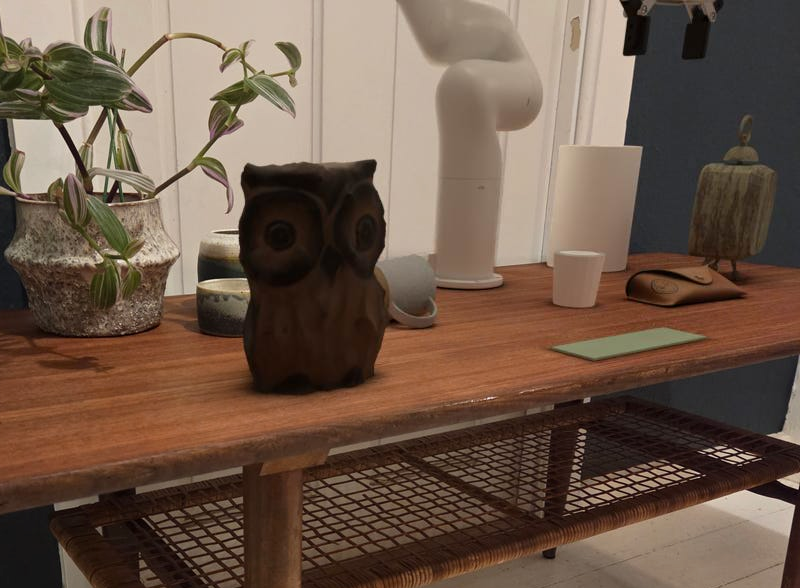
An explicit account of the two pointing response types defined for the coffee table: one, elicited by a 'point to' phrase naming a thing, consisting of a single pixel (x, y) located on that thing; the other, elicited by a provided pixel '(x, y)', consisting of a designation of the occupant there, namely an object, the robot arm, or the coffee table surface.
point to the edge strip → (627, 343)
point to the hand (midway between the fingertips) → (664, 57)
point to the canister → (595, 201)
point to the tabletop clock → (732, 207)
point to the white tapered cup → (576, 277)
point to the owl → (312, 275)
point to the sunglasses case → (680, 286)
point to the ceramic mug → (408, 289)
